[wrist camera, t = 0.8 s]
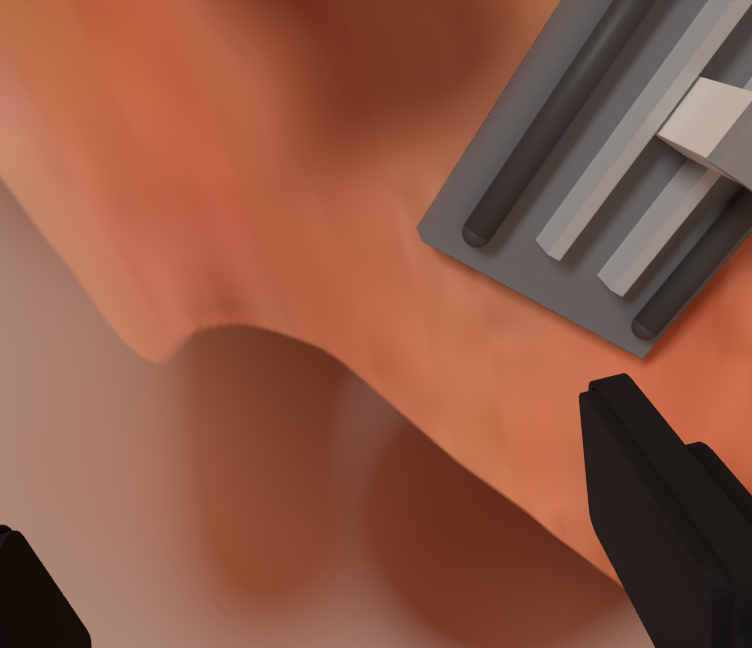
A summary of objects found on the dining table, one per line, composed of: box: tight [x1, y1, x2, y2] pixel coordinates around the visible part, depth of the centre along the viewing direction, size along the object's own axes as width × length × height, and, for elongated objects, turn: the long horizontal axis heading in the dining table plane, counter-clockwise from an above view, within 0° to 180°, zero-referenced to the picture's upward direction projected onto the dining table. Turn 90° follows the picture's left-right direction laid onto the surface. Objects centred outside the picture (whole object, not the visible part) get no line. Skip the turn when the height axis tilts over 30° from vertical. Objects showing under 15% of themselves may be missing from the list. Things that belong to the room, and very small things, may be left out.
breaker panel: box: [417, 0, 752, 359], centre depth 33 cm, size 24×16×4 cm, turn 150°
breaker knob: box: [654, 76, 752, 192], centre depth 30 cm, size 3×3×7 cm
